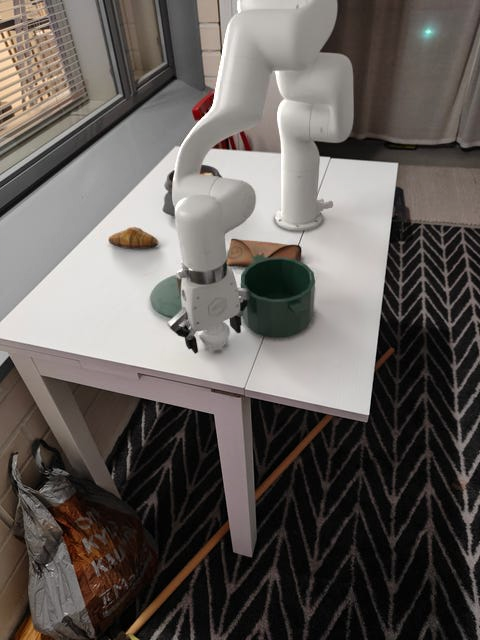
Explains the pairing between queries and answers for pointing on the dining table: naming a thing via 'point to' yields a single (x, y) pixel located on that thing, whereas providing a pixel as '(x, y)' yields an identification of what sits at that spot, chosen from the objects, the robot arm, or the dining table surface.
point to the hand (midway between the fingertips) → (214, 338)
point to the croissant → (133, 239)
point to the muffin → (215, 336)
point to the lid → (167, 297)
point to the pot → (278, 296)
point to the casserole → (168, 202)
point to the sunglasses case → (259, 251)
